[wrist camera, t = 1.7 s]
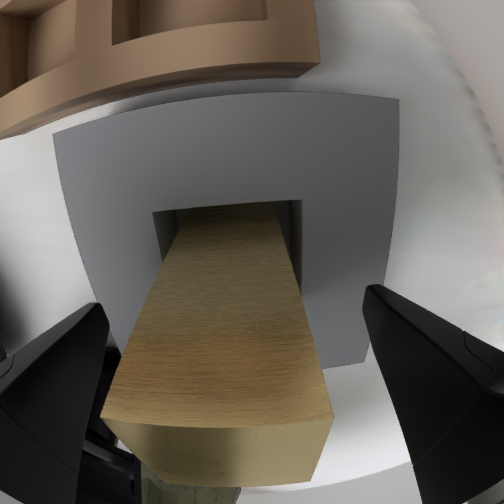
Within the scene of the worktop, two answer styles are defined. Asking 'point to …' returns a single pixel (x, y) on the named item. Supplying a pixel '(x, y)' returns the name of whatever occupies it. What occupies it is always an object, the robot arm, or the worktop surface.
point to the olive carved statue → (183, 492)
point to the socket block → (240, 196)
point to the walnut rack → (140, 50)
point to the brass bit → (223, 360)
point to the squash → (2, 353)
